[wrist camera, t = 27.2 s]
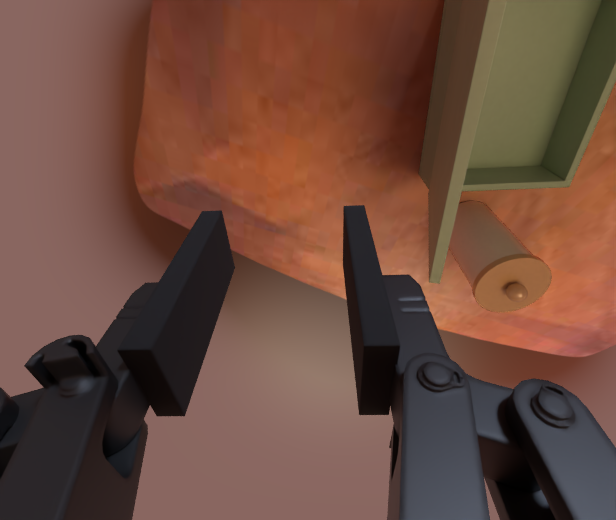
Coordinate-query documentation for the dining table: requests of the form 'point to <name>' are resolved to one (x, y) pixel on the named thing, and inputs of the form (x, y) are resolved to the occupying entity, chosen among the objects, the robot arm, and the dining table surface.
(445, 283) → the dining table surface
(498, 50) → the box
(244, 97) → the dining table surface
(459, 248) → the canister
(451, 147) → the box lid
